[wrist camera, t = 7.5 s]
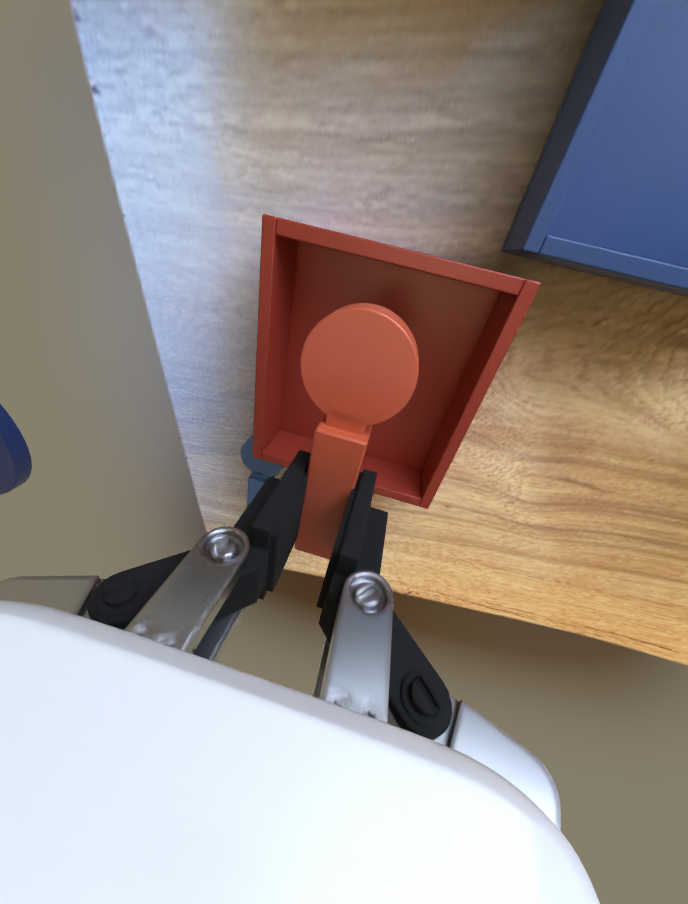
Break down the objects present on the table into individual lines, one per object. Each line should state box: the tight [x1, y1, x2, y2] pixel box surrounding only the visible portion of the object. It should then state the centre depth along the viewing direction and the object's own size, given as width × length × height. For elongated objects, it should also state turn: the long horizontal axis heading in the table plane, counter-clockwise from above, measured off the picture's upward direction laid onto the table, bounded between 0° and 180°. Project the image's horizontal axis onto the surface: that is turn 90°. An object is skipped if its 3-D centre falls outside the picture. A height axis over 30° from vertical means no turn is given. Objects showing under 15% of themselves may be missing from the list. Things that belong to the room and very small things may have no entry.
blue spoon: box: [241, 436, 283, 507], centre depth 24 cm, size 9×3×1 cm, turn 168°
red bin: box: [252, 214, 540, 509], centre depth 17 cm, size 11×12×4 cm
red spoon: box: [295, 303, 419, 560], centre depth 10 cm, size 9×3×1 cm, turn 168°
